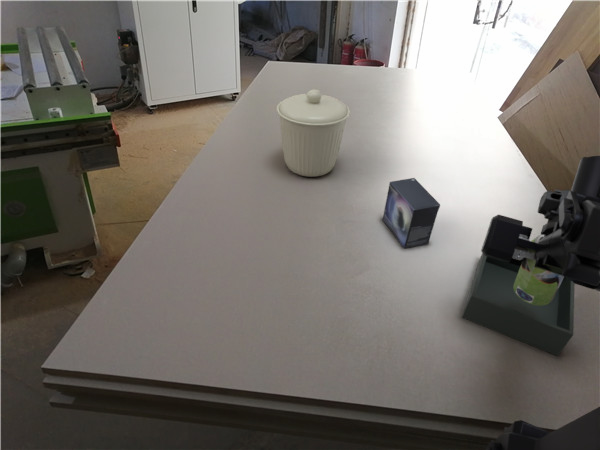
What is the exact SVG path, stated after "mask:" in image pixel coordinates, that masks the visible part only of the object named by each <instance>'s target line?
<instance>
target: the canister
mask: <svg viewBox="0 0 600 450" xmlns="http://www.w3.org/2000/svg"><path fill="white" fill-rule="evenodd" d="M276 113H277V114H278V116H279V124H280V134H281V144H282V150H283V157H284V163H285V165H286V166H287V168H288V169H289V170H290V171H291V172H292V173H294V174H296V175H299V176H302V177H307V178H308V177H310V178H315V177H320V176H321V177H322V176H325V175H326V174H328V173H330V172H331V171H332V170H333V169H334V167H335V166H336V163H337V160H338V155H339V152H340V149H341V145H342V140H343V135H344V130H345V126H346V122H347V120H348V118H349V117H350V115H351V110H350V108H349V106H348V105H347V104H345V103H344V102H343V101H341V100H340V99H337V98H336V97H333V96H330V95H326V94H322V93H321V91H320V90H318V89H310V90H309V91H307V93H299V94H295V95H291V96H289V97H287V98H285V99H283V100H281V101H280V102H278V104H277V105H276Z"/></svg>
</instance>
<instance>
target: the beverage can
mask: <svg viewBox="0 0 600 450" xmlns="http://www.w3.org/2000/svg"><path fill="white" fill-rule="evenodd" d="M541 237H544V235H542V234H541V233H540V234H539V235H537V236H536V237H535V238H533V239H532V240H530V241H531V242H535V243H538V242H539V239H540V238H541ZM528 251H530V250H527V252H528ZM531 252H533V251H530V253H531ZM534 253H535V252H533V254H534ZM535 263H536V261H535V260H532V259H529V258H525V257H524V258H523V261H522V264H521V266H520V269H519V272H518V274H517V277H516V280H515V282H514V285H513V289H514V292H515V294H516V295H517V296H518V297H519V298H520V299H521V300H523V301H525V302H527V303H529V304H532V305H538V306H542V305H547V304H549V303H551V302H552V301H553V299H554V297H555V295H556V293H557V291H558V288H559V286H560V284H561V282H562V280H563V278H564V276H562V275H559V274H555V273H552V272H549V271H546V270H542V269H539V268H536V267H534V266H535Z"/></svg>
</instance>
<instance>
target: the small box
mask: <svg viewBox="0 0 600 450" xmlns="http://www.w3.org/2000/svg"><path fill="white" fill-rule="evenodd" d="M387 190H388V191H387V195H386V201H385V205H384V210H383V215H382V222H384V224H385V225H386V227H387V228H388V229H389V231H390V232H391V233H392V234H393V236H394V237H395V238H396V240H397V241H398V243H399V244H400V245H401V247H402V248H403V249H409V248H414V247H419V246H424V245H430V244H429V243H430V239H431V236H432V232H433V229H434V226H435V223H436V219H437V215H438V213H439V210H440V207H441V203H440V202H439V201H438V200H437V199H435V198H434V196H432V194H431V193H429V191H428V190H427V189H426V187H424V186H423V185H422V183H420V182H419V181H418V180H417V179H416V178H415V177H411V178H405V179H404V178H403V179H399V180H392V181H389V185H388V189H387Z"/></svg>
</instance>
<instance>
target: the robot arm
mask: <svg viewBox="0 0 600 450" xmlns="http://www.w3.org/2000/svg"><path fill="white" fill-rule="evenodd" d="M574 176H575V177H574V180H573V183H572V185H571V189H565V190H561V189H557V188H556V189H555V190H554V191H552V190H546V191H545V192H543V194H542V195H541V197H540V199H539V203H538V208H537V214H539V215H543V217H544V219H546V220H547V222H546V223H545V224H544V225H542V228H541V230H540V235H541V234H542V235H544V237H541V238H540V239H539V242H538V243H535V242H531V241H532V240H530V238H531V235H532V232H533V228H532V227H529V226H525V225H524V221H523V220H520V219H516V218H513V217H509V216H505V215H502V214H496V215H494V216H493V217H492V218H491V219H490V223H489V225H488V228H487V231H486V234H485V238H484V240H483V244H482V246H481V249H480V251H481V254H482V253H483V255H484V256H487V257H490V258H494V259H497V260H500V261H504V262H507V263H510V264H513V265H516V266H519V267H520V266H521V264H522V260H523V258H524V257H525V258H529V259H532V260H535V261H536V263H535V266H534V267H536V268H539V269H542V270H546V271H549V272H552V273H555V274H559V275H562V276H565V277H568V278H569V279H570V280H571V281H572V282H573V283H575V285H577V286H581V287H584V288H587V289H590V290H595V291H597V292H600V155H591V156H583V157H581V159H580V160H579V163H578V166H577V170H576V173H575V175H574ZM527 250H530V251H533V252H535V253H534V254H533V252H531V253H530V251H528V252H527ZM484 450H600V406H598V407H596V408H595V409H593V410H591V411H588V412H586V413H585V414H583V415H581V416H580V417H577V418H576V419H574V420H572V421H570V422H568V423H567V424H564V425H562V426H561V427H559V428H557V429H554V430H553V431H551V432H550V431H548V430H545V429H543V428H541V427H538V426H536V425H534V424H532V423H529V422H527V421H525V420H522V419H520V420H515V421H513V423H512V424H511V425H509V426H508V427H507V426H504V429H503V433H501V434H500V435H498V436H497V438H496V439H495V440H493V439H491V440H490V441H489V442H487V444H486V446H485V448H484Z"/></svg>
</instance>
